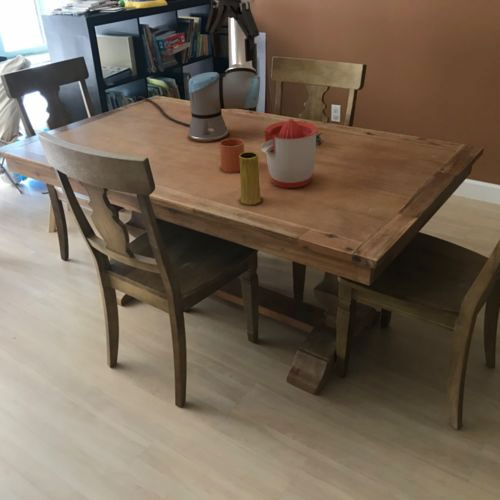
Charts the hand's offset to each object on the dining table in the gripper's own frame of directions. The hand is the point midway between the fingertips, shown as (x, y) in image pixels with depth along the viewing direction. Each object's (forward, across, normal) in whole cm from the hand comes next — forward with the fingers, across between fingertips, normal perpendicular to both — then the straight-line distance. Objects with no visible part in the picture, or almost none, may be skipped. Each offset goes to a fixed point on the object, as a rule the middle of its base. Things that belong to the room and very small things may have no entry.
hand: (233, 58), depth 162 cm
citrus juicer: (+34, +26, -6) cm, 43 cm away
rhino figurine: (+34, +12, +25) cm, 44 cm away
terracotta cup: (+34, +4, -8) cm, 35 cm away
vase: (+33, +25, -23) cm, 48 cm away
